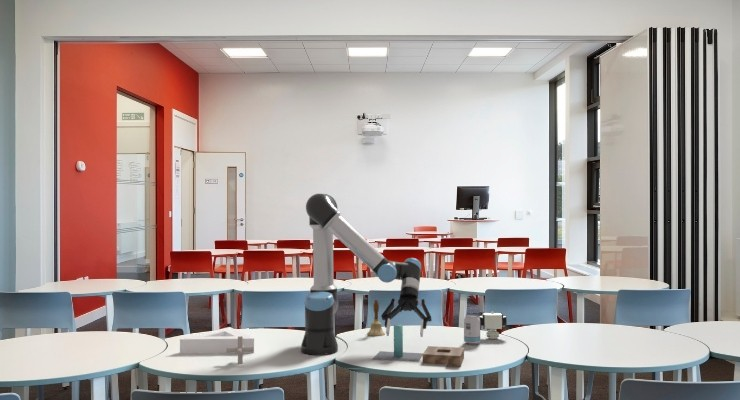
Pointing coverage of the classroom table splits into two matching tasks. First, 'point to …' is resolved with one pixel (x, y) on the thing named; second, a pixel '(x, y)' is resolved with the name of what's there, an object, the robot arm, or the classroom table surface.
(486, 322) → the pneumatic valve
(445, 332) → the classroom table surface
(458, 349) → the hole block
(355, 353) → the classroom table surface
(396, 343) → the peg
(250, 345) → the triangle block
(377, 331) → the hand bell
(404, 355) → the mat
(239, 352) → the pipe connector
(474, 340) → the beverage can
